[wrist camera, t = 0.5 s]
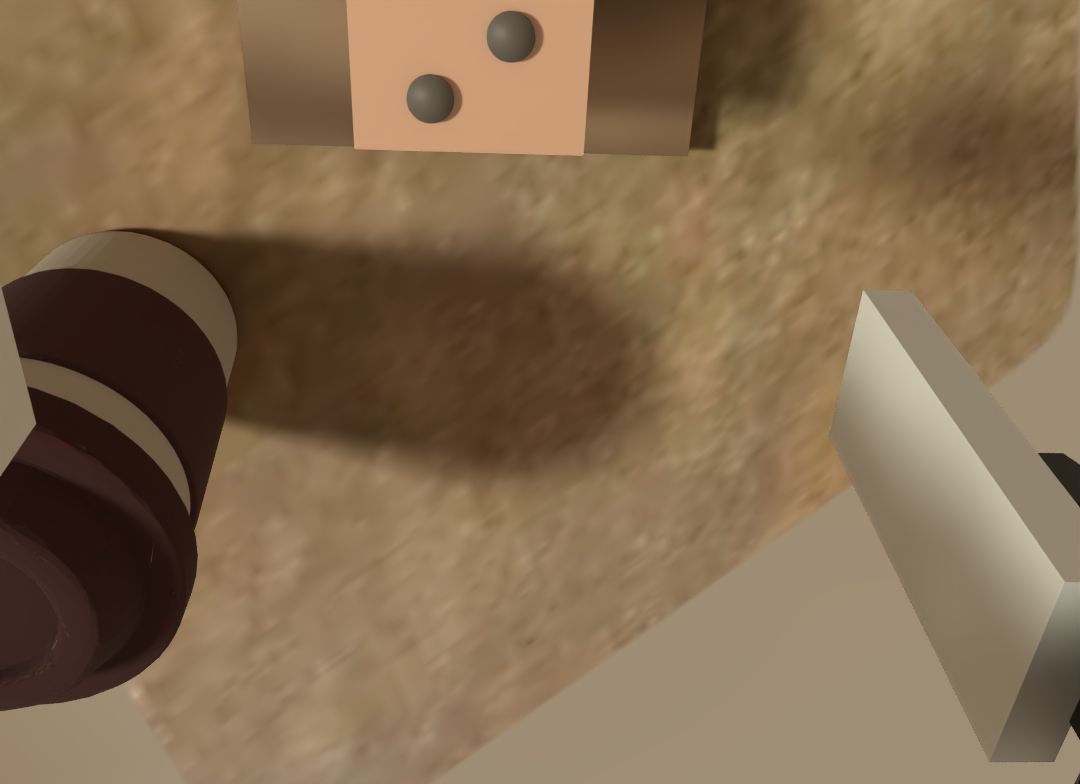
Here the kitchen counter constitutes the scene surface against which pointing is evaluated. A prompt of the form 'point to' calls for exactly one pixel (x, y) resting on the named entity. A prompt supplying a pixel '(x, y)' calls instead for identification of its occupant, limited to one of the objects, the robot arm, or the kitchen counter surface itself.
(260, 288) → the kitchen counter surface
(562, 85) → the tile three
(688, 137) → the key board
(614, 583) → the kitchen counter surface
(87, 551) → the coffee cup
